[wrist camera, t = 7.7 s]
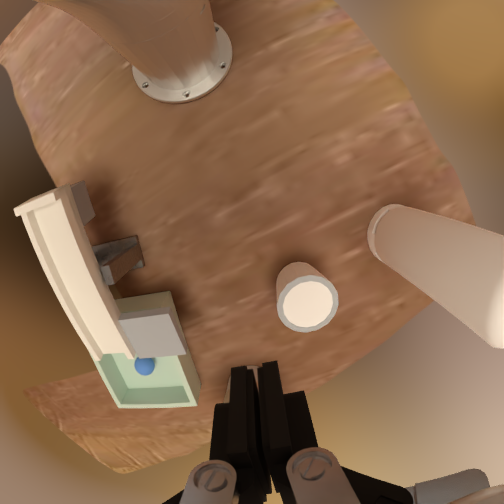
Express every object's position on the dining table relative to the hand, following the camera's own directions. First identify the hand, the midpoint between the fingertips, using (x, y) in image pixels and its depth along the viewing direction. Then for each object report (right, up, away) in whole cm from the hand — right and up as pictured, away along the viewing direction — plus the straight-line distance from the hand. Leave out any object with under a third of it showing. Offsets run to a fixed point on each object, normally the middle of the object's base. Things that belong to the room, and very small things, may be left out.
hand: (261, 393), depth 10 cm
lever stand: (-19, +5, +26) cm, 33 cm away
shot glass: (+6, +1, +28) cm, 29 cm away
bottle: (+19, +8, +27) cm, 33 cm away
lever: (-15, +4, +21) cm, 26 cm away
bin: (-16, -9, +30) cm, 35 cm away
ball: (-16, -11, +28) cm, 34 cm away
